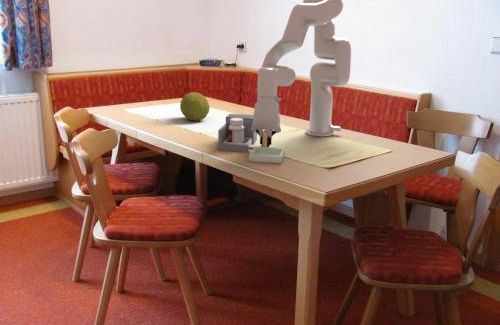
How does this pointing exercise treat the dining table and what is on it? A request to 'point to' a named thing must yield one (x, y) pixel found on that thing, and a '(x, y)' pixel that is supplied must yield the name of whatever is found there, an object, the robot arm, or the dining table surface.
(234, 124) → the pill bottle
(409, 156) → the dining table surface
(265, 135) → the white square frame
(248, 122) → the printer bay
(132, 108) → the dining table surface
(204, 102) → the fruit
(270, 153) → the tray
